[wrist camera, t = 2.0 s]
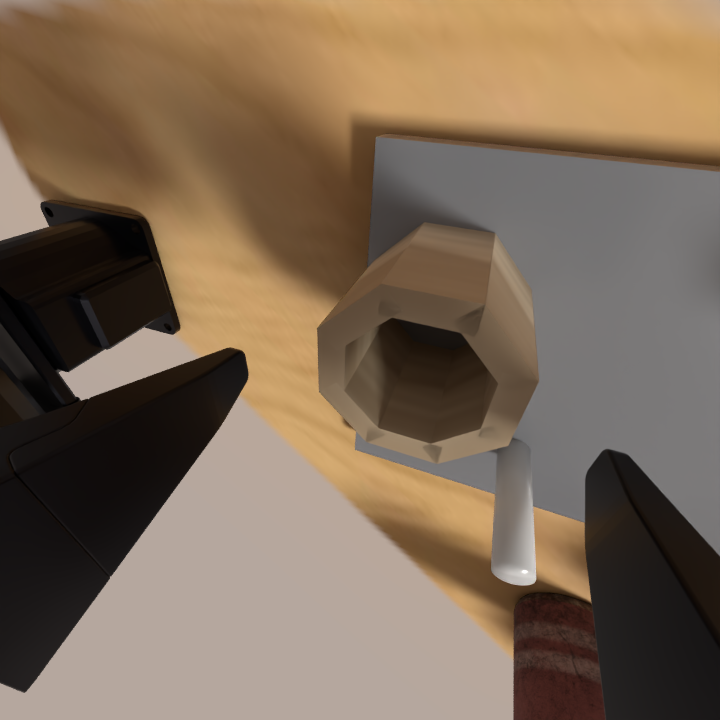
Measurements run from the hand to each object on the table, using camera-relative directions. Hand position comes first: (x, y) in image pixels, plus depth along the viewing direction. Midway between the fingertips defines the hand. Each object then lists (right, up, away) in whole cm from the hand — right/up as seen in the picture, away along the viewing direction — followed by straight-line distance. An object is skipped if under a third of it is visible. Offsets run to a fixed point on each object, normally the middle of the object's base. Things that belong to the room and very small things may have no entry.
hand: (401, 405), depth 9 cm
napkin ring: (+2, +3, +4) cm, 6 cm away
